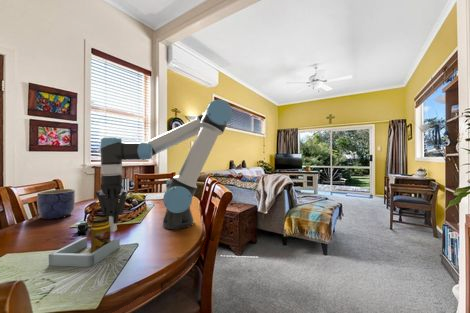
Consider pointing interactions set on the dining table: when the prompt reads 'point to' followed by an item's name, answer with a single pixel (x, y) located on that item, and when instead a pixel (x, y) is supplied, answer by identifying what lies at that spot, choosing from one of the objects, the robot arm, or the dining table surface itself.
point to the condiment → (99, 234)
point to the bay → (68, 257)
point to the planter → (56, 203)
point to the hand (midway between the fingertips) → (113, 231)
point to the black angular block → (82, 230)
